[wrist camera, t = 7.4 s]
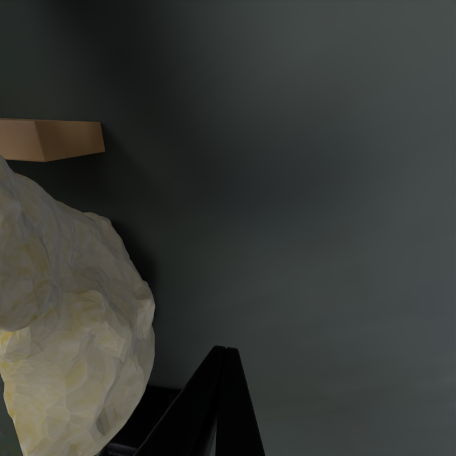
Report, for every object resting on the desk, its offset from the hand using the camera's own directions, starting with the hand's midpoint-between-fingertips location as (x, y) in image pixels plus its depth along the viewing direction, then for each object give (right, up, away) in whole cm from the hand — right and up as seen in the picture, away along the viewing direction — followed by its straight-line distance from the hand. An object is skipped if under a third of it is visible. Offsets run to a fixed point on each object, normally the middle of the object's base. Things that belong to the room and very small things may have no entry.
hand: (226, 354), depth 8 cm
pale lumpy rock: (-9, +3, +8) cm, 12 cm away
